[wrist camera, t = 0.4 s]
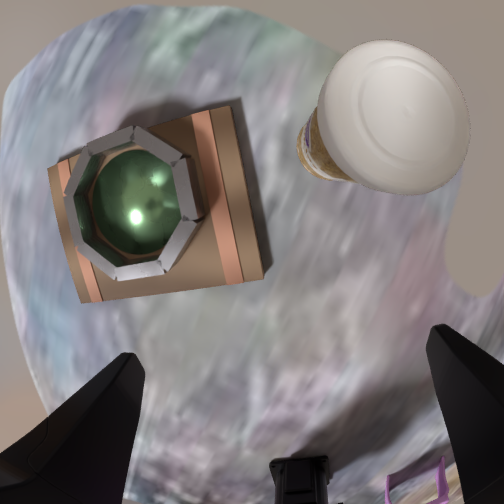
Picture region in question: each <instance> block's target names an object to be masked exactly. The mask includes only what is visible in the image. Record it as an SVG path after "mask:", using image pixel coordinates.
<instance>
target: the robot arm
mask: <svg viewBox="0 0 504 504" xmlns="http://www.w3.org/2000/svg"><path fill="white" fill-rule="evenodd" d="M426 353H427V357H428V361H429V365H430V369H431V373H432V378H433V382H434V387H435V391H436V395H437V398H438V401H439V405H440V408H441V411H442V414H443V417H444V421H445V424H446V427H447V431H448V434H449V438H450V441H451V445H452V449H453V453H454V457H455V461H456V465H457V469H458V474H459V478H460V483H461V488H462V493H463V499H464V502H465V503H464V504H504V365H503V364H502V363H501V362H499V361H498V360H496V359H495V358H494V357H492V356H491V355H489V354H488V353H487V352H485V351H484V350H482V349H481V348H480V347H478V346H477V345H475V344H474V343H472V342H471V341H470V340H468V339H467V338H465V337H464V336H462V335H461V334H459V333H458V332H457V331H455V330H454V329H452V328H451V327H449V326H448V325H446V324H439V325H434V326H433V327H432V328H431V330H430V334H429V337H428V341H427V344H426ZM144 382H145V371H144V368H143V366H142V365H141V363H140V361H139V359H138V358H137V356H136V354H134V353H126V352H124V353H121V354H120V355H119V356H118V357H116V358H115V359H114V360H113V361H112V362H111V363H109V364H108V365H107V366H106V367H105V368H104V369H102V370H101V371H100V372H99V373H98V374H97V375H95V376H94V377H93V378H92V379H91V380H90V381H89V382H87V383H86V384H85V385H84V386H83V387H82V388H80V389H79V390H78V391H77V392H76V393H75V394H73V395H72V396H71V397H70V398H69V399H68V400H66V401H65V402H64V403H63V404H62V405H61V406H59V407H58V408H57V409H56V410H55V411H54V412H53V413H51V414H50V415H49V417H47V418H46V419H45V420H43V421H42V422H41V423H40V424H39V425H37V426H36V427H35V428H34V429H33V430H31V431H30V432H29V433H27V434H26V435H25V436H24V437H22V438H21V439H19V440H18V441H17V442H15V443H14V444H12V445H11V446H10V447H8V448H7V449H6V450H4V451H3V452H1V453H0V504H122V499H123V493H124V488H125V482H126V477H127V472H128V467H129V462H130V458H131V453H132V448H133V444H134V439H135V435H136V431H137V426H138V422H139V417H140V411H141V404H142V396H143V389H144ZM269 468H270V471H271V474H272V477H273V480H274V484H275V504H328V494H327V485H328V484H329V460H328V457H327V456H322V457H315V458H307V459H298V460H288V461H275V462H270V463H269ZM338 504H343V502H342V503H338Z"/></svg>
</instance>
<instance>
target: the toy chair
mask: <svg viewBox="0 0 504 504" xmlns="http://www.w3.org/2000/svg"><path fill="white" fill-rule="evenodd" d="M389 479H390V475H388V476H387V481H386V490H385V504H392V503H391V501H390V497H389ZM435 479H436V483H437V489H438V498H437V499H435V500H433V501H431V502H429V503H427V504H447V503H448V501H449V498H448V493H449V487H448V484H447V481H446V477H445V461H444V456H442V458H441V461H440V464H439V467H438V470H437V473H436V476H435Z"/></svg>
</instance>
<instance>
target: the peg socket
mask: <svg viewBox="0 0 504 504" xmlns="http://www.w3.org/2000/svg"><path fill="white" fill-rule="evenodd" d="M137 145H139V146H141V147H142V148H144V149H145V150H147V151H144V150H131V151H127V152H123V153H121V154H119V155H117V156H116V157H114V158H113V159H111V160H110V161H109V162H108V163H107V164H106V165H105V166H104V168H103V169H102V170H101V172H100V174H99V176H98V178H97V180H96V182H95V186H94V190H93V198H92V205H93V213H94V217H95V220H96V223H97V225H98V227H99V229H100V231H101V233H102V234H103V236H104V237H105V238H106V239H107V240H108V241H109V242H110V243H111V244H112V245H113V246H115V247H116V248H118V249H119V250H121V251H124V252H127V253H130V254H138V255H142V254H148V253H152V252H154V251H157V250H159V249H160V248H162V247H164V246H165V245H166V246H165V248H164V250H163V251H162V253H161V254H157V255H152V256H146V257H141V258H136V259H130V260H129V259H128V258H126V257H125V256H124V255H122V254H121V253H120V252H118V251H117V250H116V249H114V248H113V247H112V246H111V245H109V244H108V243H107V242H105V241H104V240H103V239H101V238H100V237H99V236H98V235H97V231H96V227H95V223H94V219H93V215H92V210H91V205H90V201H89V196H88V193H89V191H90V189H91V187H92V185H93V182H94V180H95V178H96V176H97V174H98V172H99V170H100V168H101V166H102V164H103V162H104V160H105V158H106V156H108V155H111V154H114V153H116V152H119V151H122V150H125V149H128V148H131V147H134V146H137ZM191 156H192V155H190V154H188V153H187V152H185V151H184V150H182V149H180V148H179V147H177V146H176V145H174V144H172V143H171V142H169V141H168V140H166V139H164V138H163V137H161V136H160V135H158V134H156V133H155V132H153V131H151V130H150V129H147V128H143V127H140V126H134V125H132V126H129V127H126V128H124V129H121V130H118V131H116V132H113V133H110V134H108V135H105V136H103V137H100V138H98V139H96V140H93V141H91V142H89V143H87V146H84V147H83V149H82V151H81V154H80V156H79V158H78V160H77V162H76V164H75V167H74V169H73V171H72V173H71V176H70V178H69V180H68V183H67V185H66V188H65V190H64V194H66V195H67V196H64V197H63V199H64V204H65V209H66V214H67V218H68V222H69V227H70V231H71V235H72V239H73V243H74V246H75V247H76V246H78V248H77V251H78V252H79V253H81V254H82V255H83V256H84V257H85V258H87V259H88V260H89V261H90V262H92V263H93V264H94V265H95V266H97V267H98V268H99V269H100V270H102V271H103V272H104V273H105V274H107V275H108V276H109V277H111V278H112V279H113V280H115V279H117V280H118V281H124V280H131V279H137V278H144V277H150V276H156V275H163V274H165V273H167V272H168V271H170V270H171V269H172V268H173V267H174V266H175V265H176V264H177V263H178V262H179V260H180V258H181V257H182V255H183V253H184V252H185V250H186V248H187V247H188V245H189V244H190V242H191V240H192V239H193V237H194V235H195V234H196V232H197V231H198V229H199V227H200V226H201V224H202V223H203V221H204V220H205V219H204V218H203V217H202V216H204V215H206V214H205V209H204V204H203V200H202V195H201V190H200V185H199V180H198V175H197V170H196V165H195V160H194V159H190V158H191Z"/></svg>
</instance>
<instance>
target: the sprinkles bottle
mask: <svg viewBox="0 0 504 504" xmlns="http://www.w3.org/2000/svg"><path fill="white" fill-rule="evenodd" d="M469 142H470V120H469V113H468V109H467V105H466V102H465V99H464V97H463V94H462V92H461V90H460V88H459V87H458V85H457V84H456V82H455V80H454V78H453V77H452V76H451V74H450V73H449V72H448V71H447V70H446V68H445V67H444V66H443V65H442V64H441V63H440V62H439V61H438V60H436V59H435V58H433V57H432V56H431V55H430V54H428V53H427V52H425V51H423V50H421V49H419V48H417V47H415V46H413V45H411V44H408V43H405V42H401V41H396V40H373V41H369V42H365V43H362V44H360V45H358V46H355V47H354V48H352V49H350V50H349V51H348V52H346V53H345V54H344V55H343V56H342V57H341V58H340V59H339V60H338V61H337V63H336V64H335V66H334V67H333V69H332V70H331V72H330V73H329V75H328V76H327V78H326V80H325V82H324V84H323V87H322V89H321V92H320V95H319V99H318V106H317V107H316V108H315V110H314V111H313V113H312V115H311V116H310V118H309V119H308V121H307V123H306V124H305V125H304V127H303V128H302V129H301V131H300V133H299V136H298V138H297V153H298V156H299V159H300V161H301V163H302V164H303V166H304V167H305V169H306V170H307V171H309V172H310V173H311V174H312V175H314V176H316V177H318V178H321V179H325V180H336V181H343V182H350V183H357V184H361V185H363V186H365V187H368V188H370V189H373V190H377V191H381V192H386V193H392V194H398V195H420V194H425V193H428V192H431V191H434V190H436V189H438V188H440V187H442V186H443V185H444V184H446V183H447V182H449V181H450V180H451V179H452V178H453V176H454V175H455V174H456V173H457V172H458V170H459V169H460V167H461V165H462V163H463V162H464V160H465V157H466V154H467V151H468V146H469Z"/></svg>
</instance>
